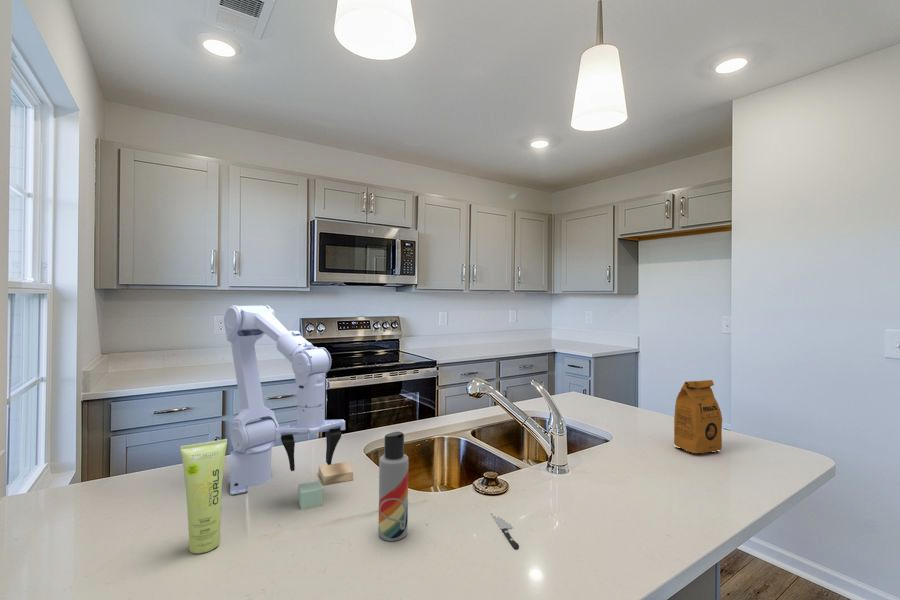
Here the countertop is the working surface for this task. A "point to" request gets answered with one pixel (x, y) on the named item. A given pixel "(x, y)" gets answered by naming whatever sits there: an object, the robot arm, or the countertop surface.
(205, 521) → the tube
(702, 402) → the coffee package
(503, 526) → the chef's knife
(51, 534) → the countertop surface
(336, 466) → the tower top
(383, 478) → the lotion bottle
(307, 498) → the sage block
